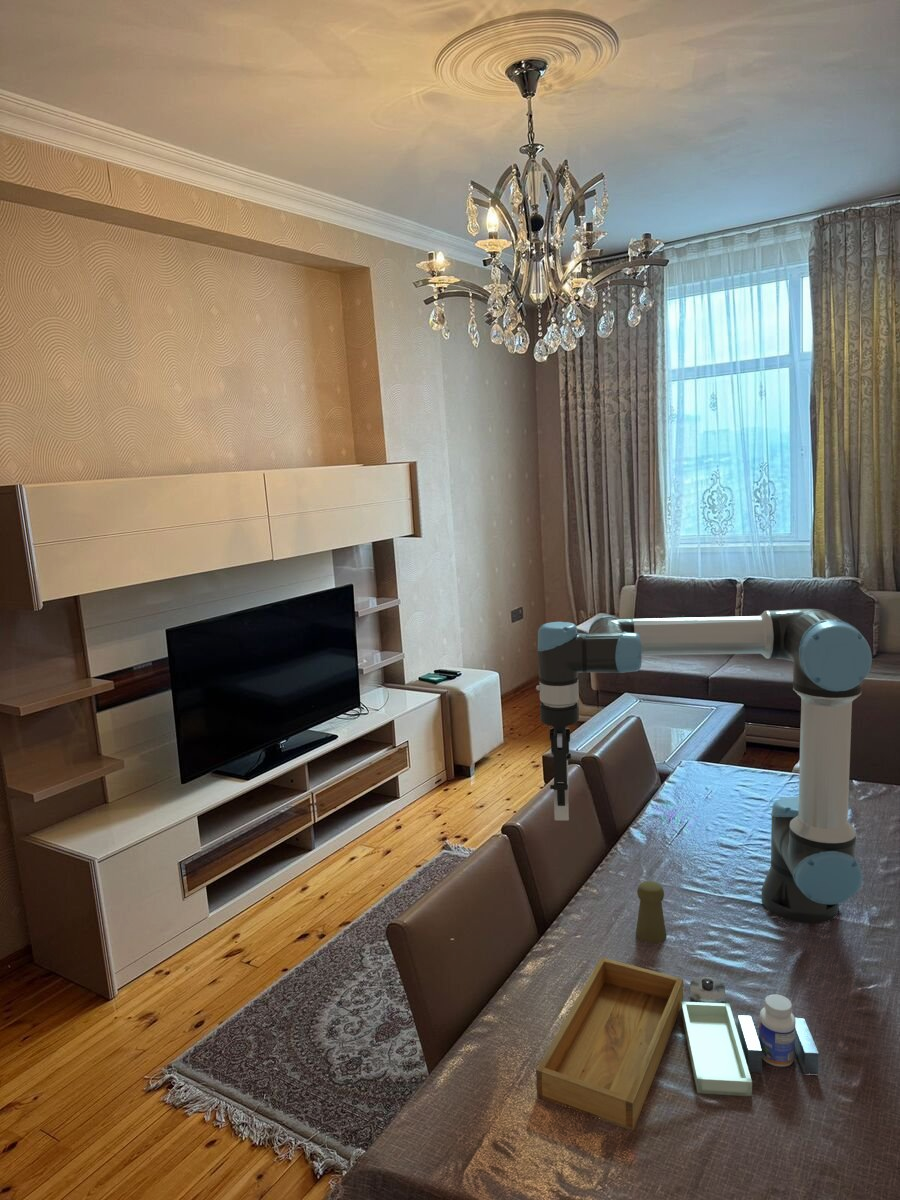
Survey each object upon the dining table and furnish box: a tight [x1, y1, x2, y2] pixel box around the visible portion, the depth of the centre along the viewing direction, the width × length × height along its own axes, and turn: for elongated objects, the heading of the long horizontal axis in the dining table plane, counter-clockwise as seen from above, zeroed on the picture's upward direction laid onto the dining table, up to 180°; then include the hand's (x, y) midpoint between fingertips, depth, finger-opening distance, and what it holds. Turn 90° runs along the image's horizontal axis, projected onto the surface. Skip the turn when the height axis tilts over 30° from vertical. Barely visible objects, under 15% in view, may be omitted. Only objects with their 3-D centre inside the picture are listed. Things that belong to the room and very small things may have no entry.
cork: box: [635, 880, 667, 944], centre depth 167 cm, size 6×6×11 cm
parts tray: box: [680, 1001, 753, 1097], centre depth 135 cm, size 8×18×2 cm, turn 172°
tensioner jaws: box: [737, 1015, 820, 1075], centre depth 133 cm, size 10×8×4 cm
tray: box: [535, 956, 684, 1131], centre depth 137 cm, size 31×15×6 cm, turn 151°
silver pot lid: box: [689, 976, 726, 1003], centre depth 148 cm, size 6×6×3 cm
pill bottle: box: [758, 993, 796, 1068], centre depth 133 cm, size 5×5×10 cm
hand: (561, 804), depth 165 cm, fingers open, 13 cm apart
